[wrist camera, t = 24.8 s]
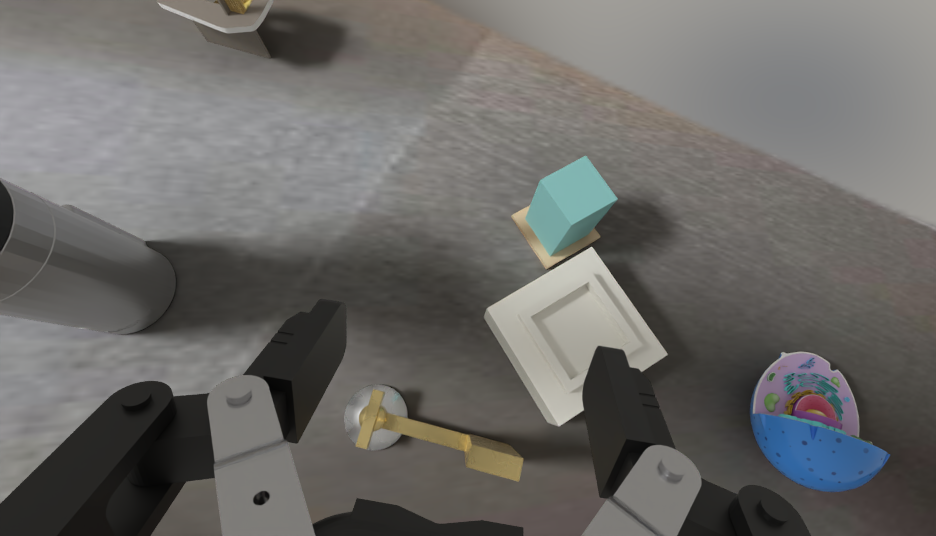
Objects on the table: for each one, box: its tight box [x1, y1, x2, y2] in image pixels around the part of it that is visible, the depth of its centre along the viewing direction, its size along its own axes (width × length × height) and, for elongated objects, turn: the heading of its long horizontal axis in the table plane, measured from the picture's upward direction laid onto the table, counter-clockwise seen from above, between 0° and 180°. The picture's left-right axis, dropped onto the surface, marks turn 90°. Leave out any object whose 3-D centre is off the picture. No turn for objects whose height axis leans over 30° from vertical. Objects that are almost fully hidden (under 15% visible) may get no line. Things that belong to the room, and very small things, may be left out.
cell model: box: [750, 352, 890, 492], centre depth 38 cm, size 10×12×10 cm
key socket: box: [344, 385, 408, 450], centre depth 42 cm, size 6×6×1 cm
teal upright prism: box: [525, 156, 617, 256], centre depth 43 cm, size 5×5×9 cm
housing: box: [484, 247, 668, 426], centre depth 42 cm, size 12×12×6 cm
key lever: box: [356, 389, 523, 482], centre depth 37 cm, size 14×5×9 cm, turn 76°
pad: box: [512, 206, 601, 269], centre depth 48 cm, size 7×7×1 cm
